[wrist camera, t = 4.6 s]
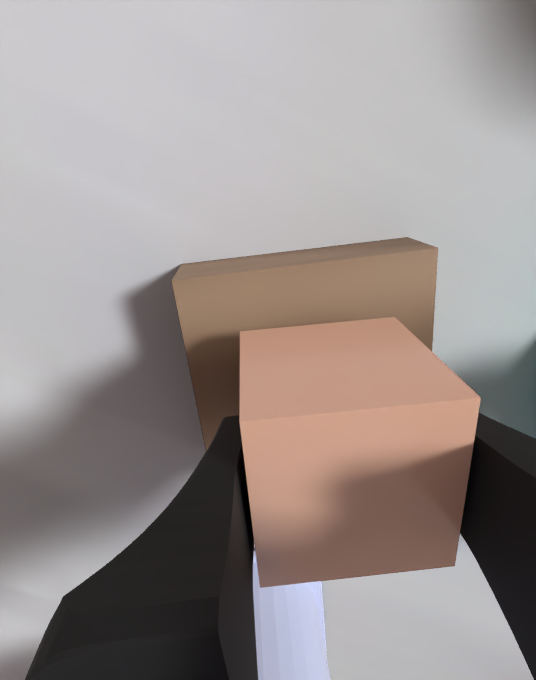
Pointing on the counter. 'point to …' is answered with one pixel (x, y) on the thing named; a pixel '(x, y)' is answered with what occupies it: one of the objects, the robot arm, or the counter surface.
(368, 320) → the cube
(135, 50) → the counter surface
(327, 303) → the slab
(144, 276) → the counter surface
